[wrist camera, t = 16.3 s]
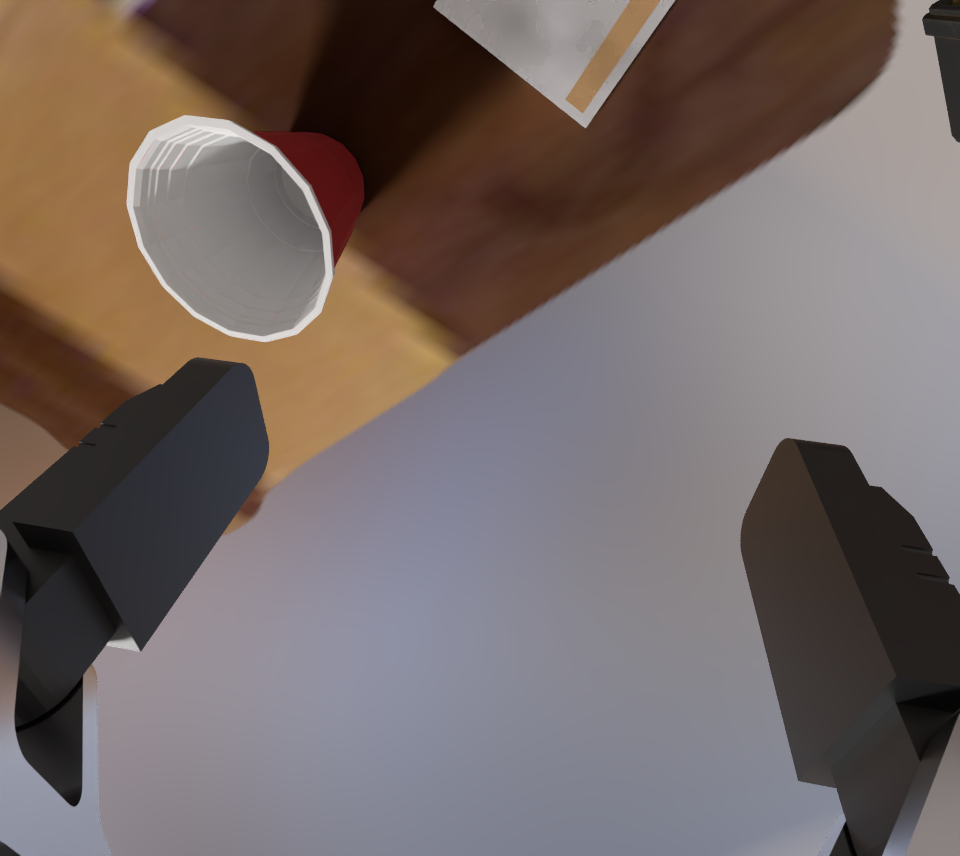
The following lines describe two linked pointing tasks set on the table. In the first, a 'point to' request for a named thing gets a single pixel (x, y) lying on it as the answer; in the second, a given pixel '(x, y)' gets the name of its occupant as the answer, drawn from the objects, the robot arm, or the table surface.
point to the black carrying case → (947, 53)
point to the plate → (562, 42)
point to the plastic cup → (244, 221)
